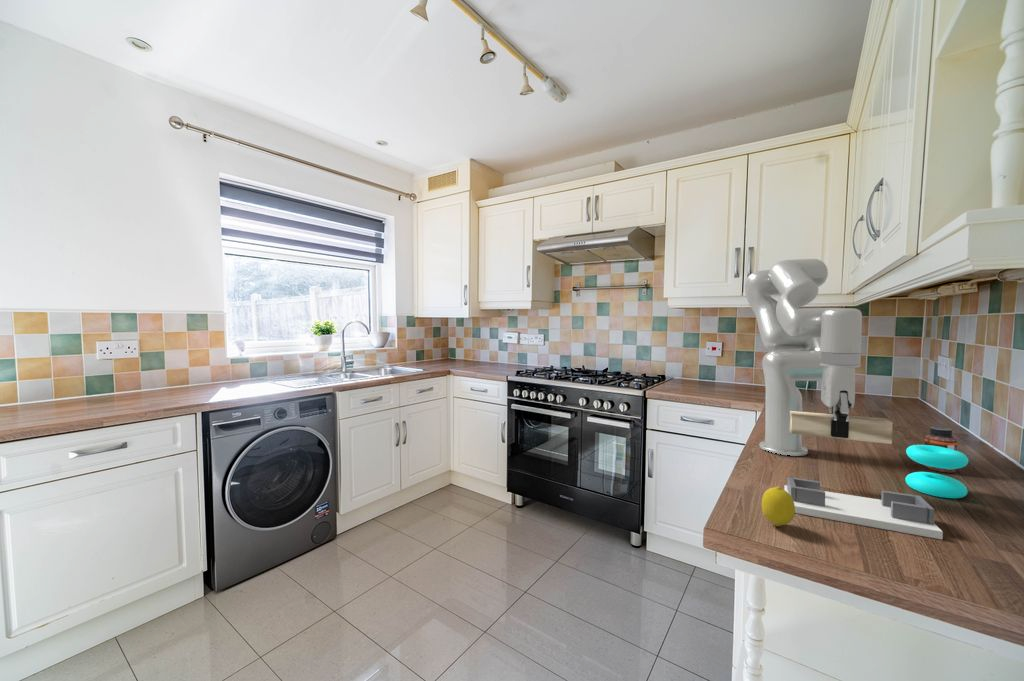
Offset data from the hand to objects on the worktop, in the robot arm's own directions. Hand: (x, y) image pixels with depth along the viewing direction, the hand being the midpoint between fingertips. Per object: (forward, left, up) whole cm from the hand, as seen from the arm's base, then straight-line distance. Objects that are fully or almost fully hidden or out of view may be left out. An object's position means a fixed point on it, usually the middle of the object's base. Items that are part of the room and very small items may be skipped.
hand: (837, 433), depth 96 cm
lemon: (+28, -14, -13) cm, 35 cm away
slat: (0, 0, -1) cm, 1 cm away
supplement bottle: (-27, +27, -13) cm, 40 cm away
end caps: (+14, 0, -12) cm, 19 cm away
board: (+14, 0, -13) cm, 20 cm away
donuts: (-8, +20, -13) cm, 25 cm away
